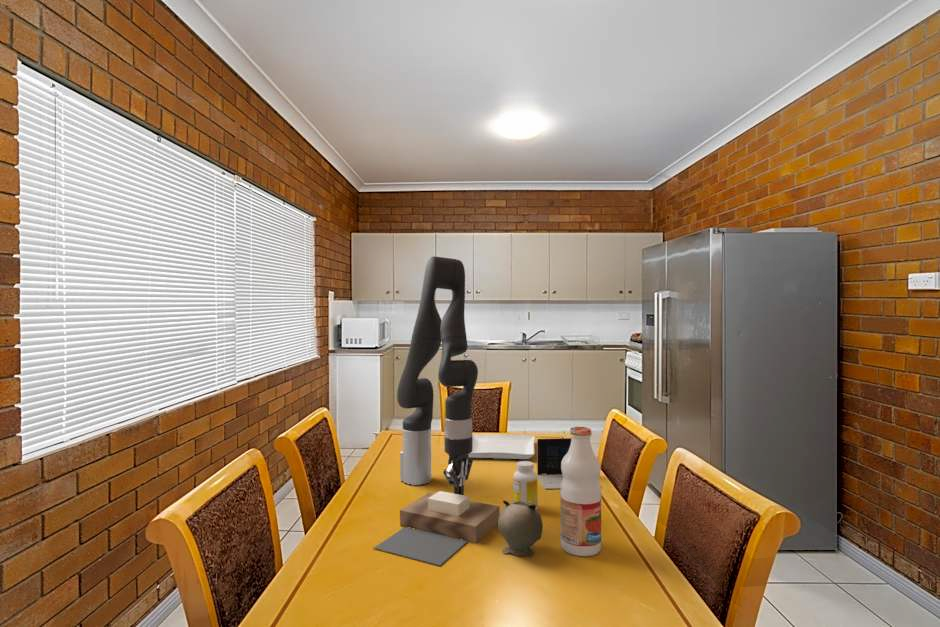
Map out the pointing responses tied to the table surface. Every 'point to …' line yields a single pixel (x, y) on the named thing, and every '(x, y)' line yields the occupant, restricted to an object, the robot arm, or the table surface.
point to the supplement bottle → (525, 484)
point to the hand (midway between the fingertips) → (458, 498)
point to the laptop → (551, 461)
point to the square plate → (502, 446)
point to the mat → (422, 545)
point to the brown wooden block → (451, 519)
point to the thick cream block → (448, 503)
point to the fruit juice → (580, 497)
